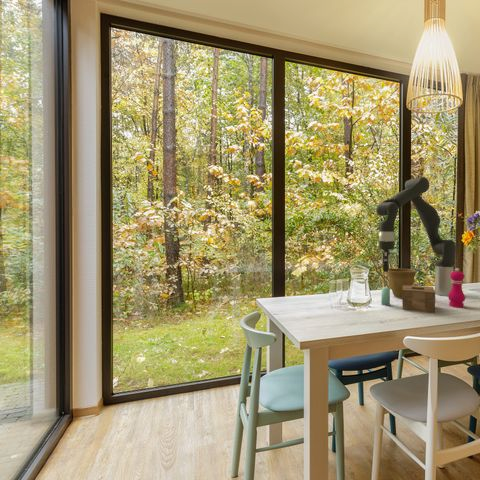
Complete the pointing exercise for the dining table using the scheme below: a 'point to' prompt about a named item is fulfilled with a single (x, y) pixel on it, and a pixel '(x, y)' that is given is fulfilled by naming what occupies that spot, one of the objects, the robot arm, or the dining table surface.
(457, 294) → the pepper mill
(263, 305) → the dining table surface
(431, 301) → the socket block
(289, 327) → the dining table surface
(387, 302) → the peg
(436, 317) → the dining table surface
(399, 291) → the plant pot
